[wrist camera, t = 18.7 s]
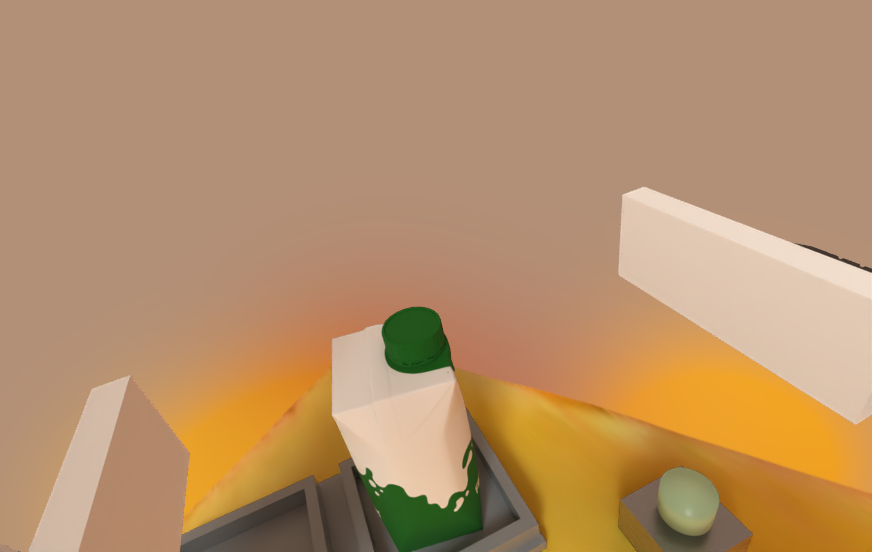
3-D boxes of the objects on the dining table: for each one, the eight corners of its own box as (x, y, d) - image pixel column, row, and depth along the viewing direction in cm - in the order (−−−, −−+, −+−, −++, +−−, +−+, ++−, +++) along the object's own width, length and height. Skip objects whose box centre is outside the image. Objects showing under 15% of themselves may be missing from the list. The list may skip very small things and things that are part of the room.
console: (678, 603, 32) (684, 577, 29) (618, 526, 36) (620, 499, 34) (742, 562, 33) (753, 534, 31) (676, 493, 38) (681, 465, 36)
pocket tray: (154, 768, 29) (130, 756, 28) (177, 556, 41) (160, 539, 39) (546, 547, 36) (545, 528, 34) (469, 420, 48) (465, 401, 46)
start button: (685, 545, 30) (690, 526, 29) (645, 499, 33) (648, 481, 32) (726, 520, 31) (732, 501, 30) (683, 478, 34) (687, 459, 33)
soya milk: (497, 537, 36) (461, 359, 26) (389, 571, 36) (307, 402, 25) (469, 448, 44) (433, 281, 33) (379, 475, 43) (312, 313, 32)
